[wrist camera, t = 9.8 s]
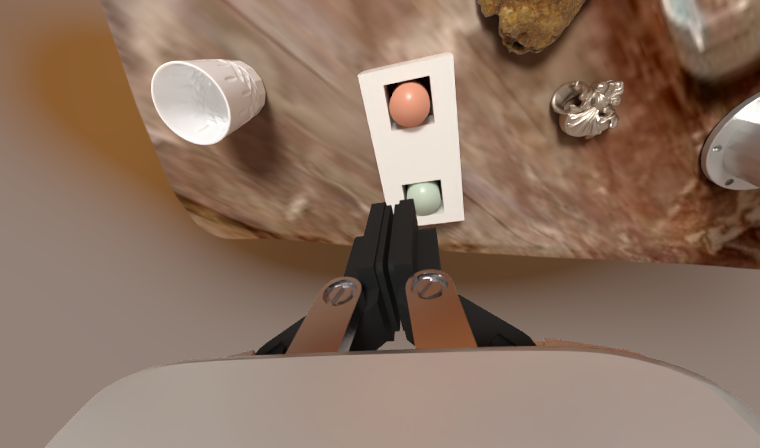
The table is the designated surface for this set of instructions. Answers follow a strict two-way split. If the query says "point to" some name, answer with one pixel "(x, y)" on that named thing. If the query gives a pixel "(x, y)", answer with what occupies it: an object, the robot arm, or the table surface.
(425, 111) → the terracotta button
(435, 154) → the button box
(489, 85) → the table surface
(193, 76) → the white cup
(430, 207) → the sage button
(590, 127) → the ornament
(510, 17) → the decorative rock
